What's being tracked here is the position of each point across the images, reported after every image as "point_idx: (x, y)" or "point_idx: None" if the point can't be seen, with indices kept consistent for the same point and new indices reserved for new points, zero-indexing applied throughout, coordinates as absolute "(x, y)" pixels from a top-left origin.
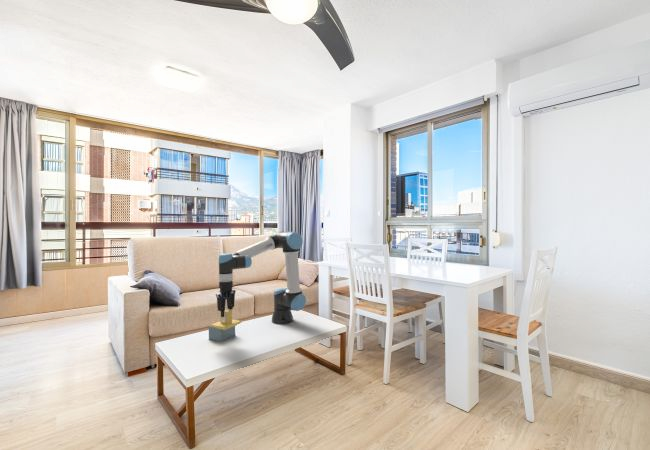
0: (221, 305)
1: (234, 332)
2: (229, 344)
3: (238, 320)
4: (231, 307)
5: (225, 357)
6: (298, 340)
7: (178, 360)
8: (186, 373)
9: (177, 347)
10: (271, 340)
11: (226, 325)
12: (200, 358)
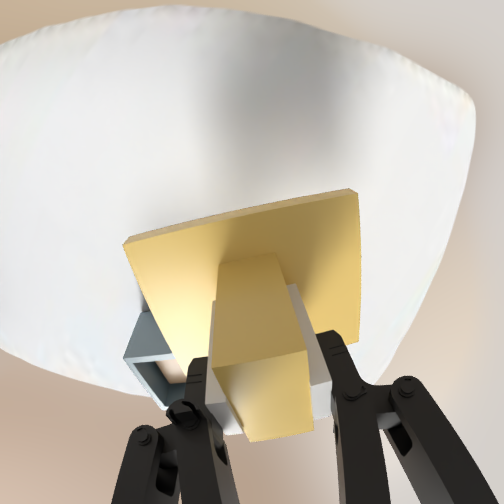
0: (440, 447)
1: (141, 321)
2: None
3: (135, 275)
4: (186, 428)
5: (332, 107)
6: (3, 53)
7: (434, 252)
8: (470, 136)
9: (363, 353)
10: (48, 120)
11: (310, 231)
12: (397, 200)
